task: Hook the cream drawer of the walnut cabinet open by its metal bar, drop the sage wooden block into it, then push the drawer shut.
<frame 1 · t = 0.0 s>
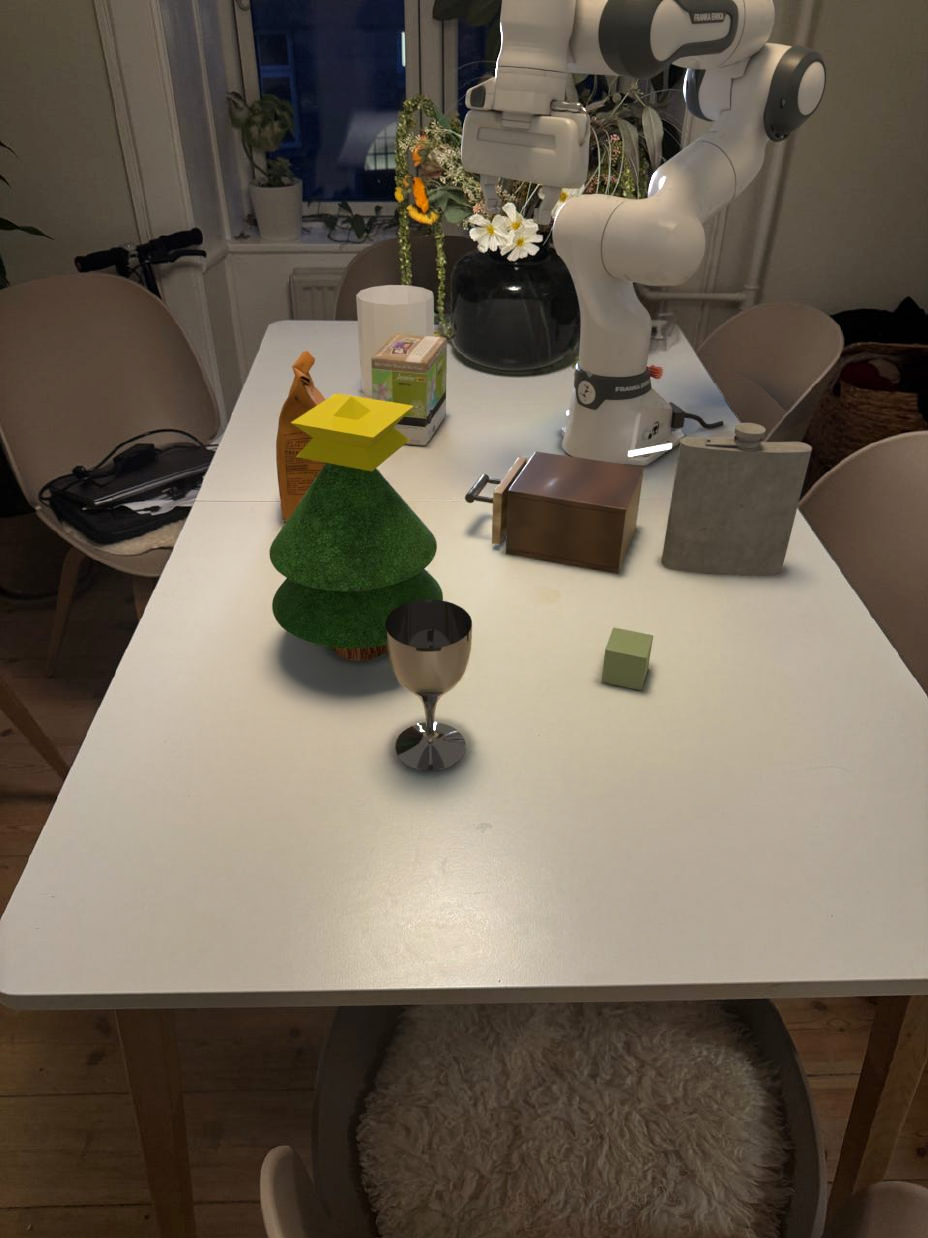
hand: (516, 218, 116), 39 cm above the table, tool pointing down, fingers open, 8 cm apart
block: (625, 674, 98), on the table
coffee package: (315, 507, 132), on the table
cabinet: (572, 540, 124), on the table
hip flask: (721, 568, 118), on the table
decorative tree: (361, 644, 103), on the table
drawer: (538, 504, 122), point 5 cm above the table, slide at 1.0 cm
container: (398, 389, 175), on the table
wine glass: (430, 747, 88), on the table
tea box: (411, 429, 157), on the table
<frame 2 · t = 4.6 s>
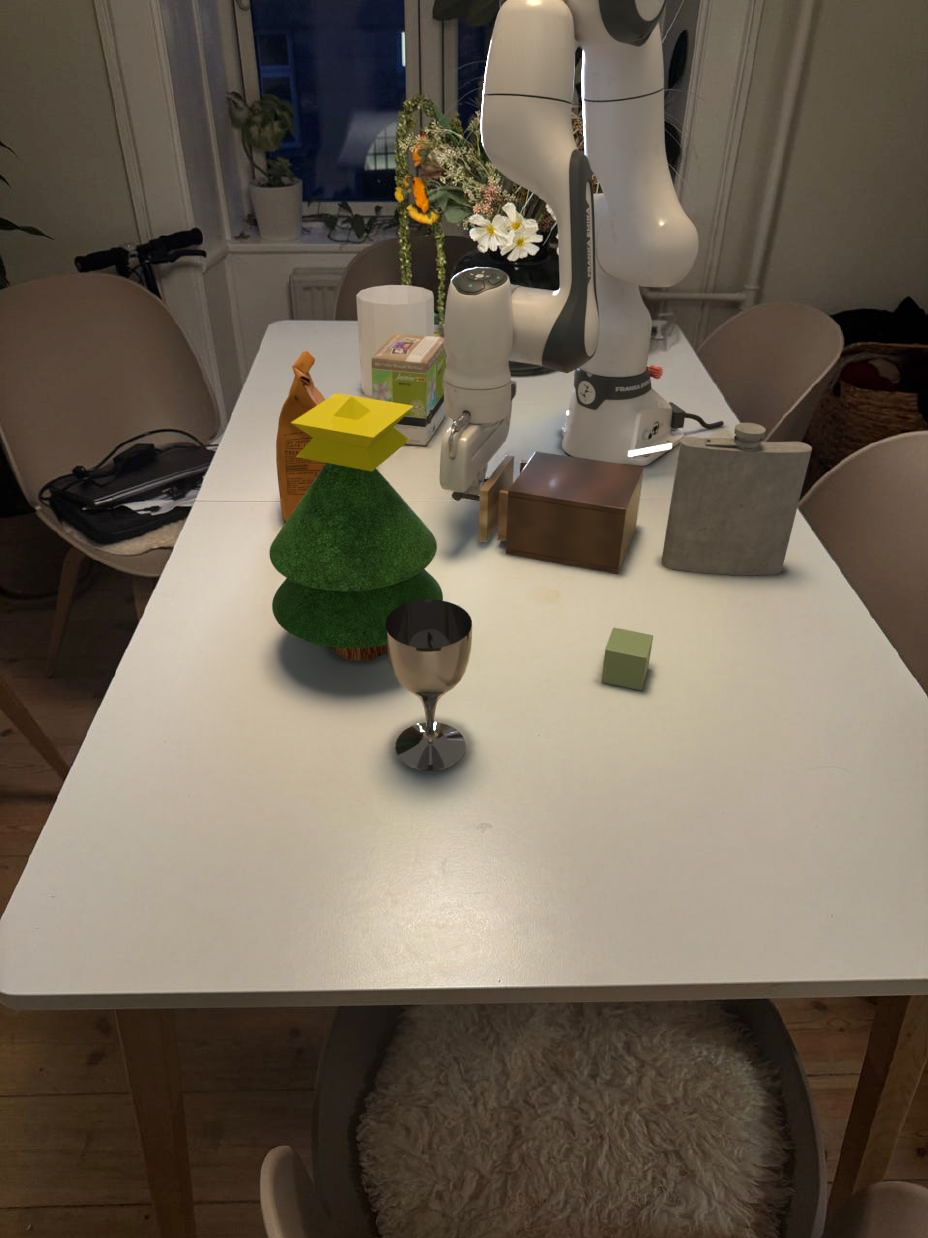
hand: (474, 494, 125), 5 cm above the table, tool pointing down, fingers closed
drawer: (525, 502, 123), point 5 cm above the table, slide at 2.9 cm, touching gripper
everything else where it was.
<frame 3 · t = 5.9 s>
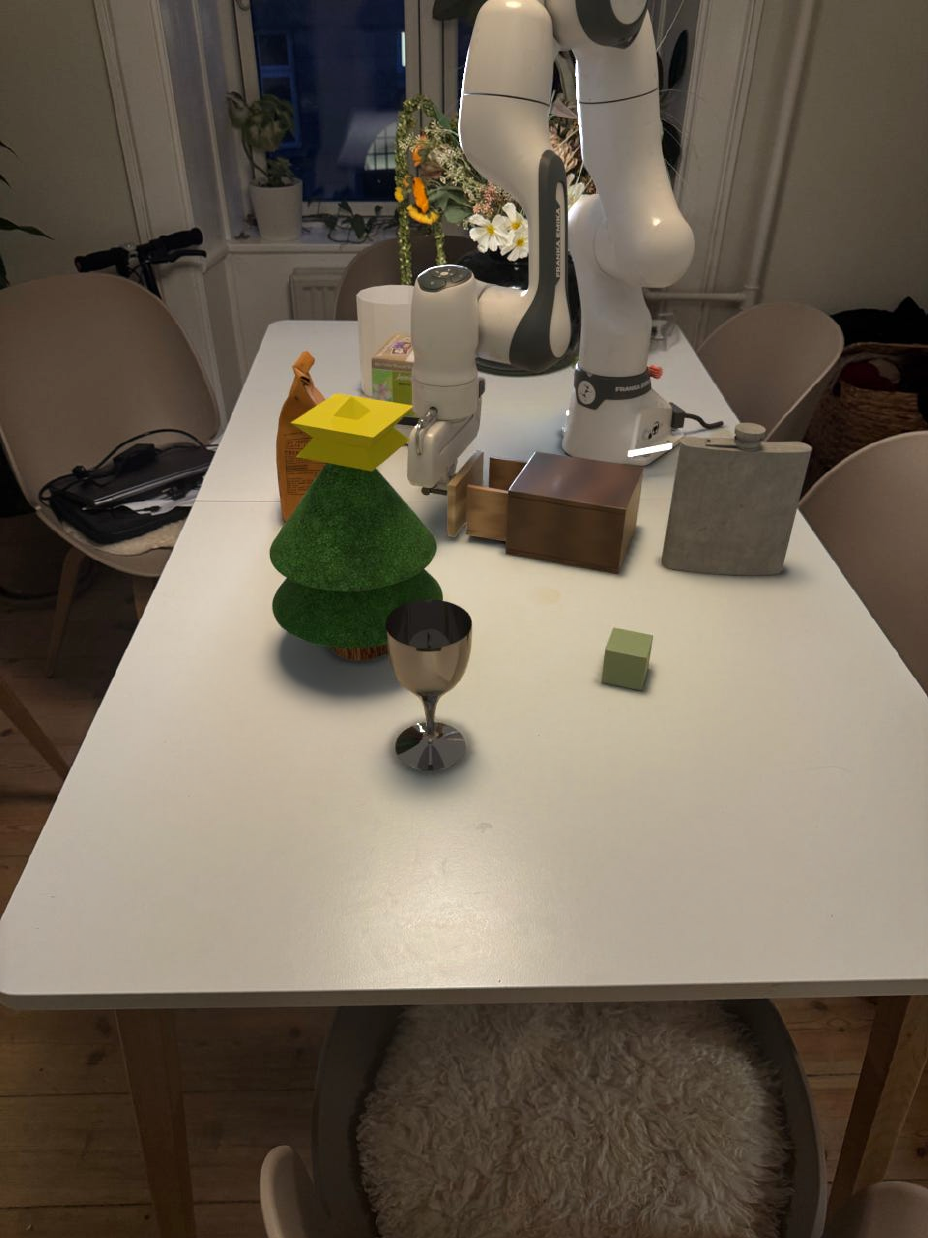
hand: (445, 489, 126), 5 cm above the table, tool pointing down, fingers closed
drawer: (494, 497, 124), point 5 cm above the table, slide at 7.5 cm
everything else where it was.
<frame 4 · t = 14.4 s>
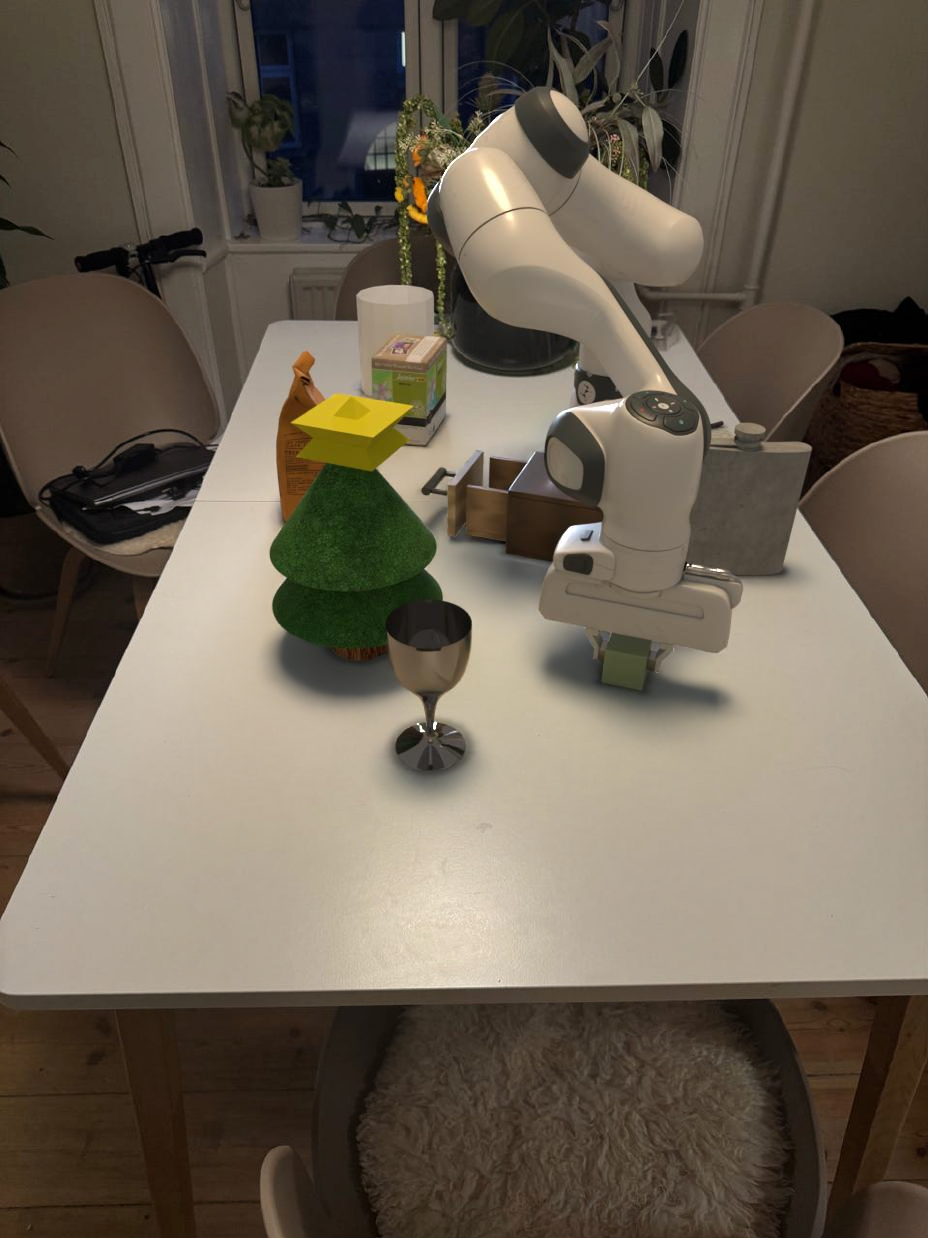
hand: (626, 663, 97), 2 cm above the table, tool pointing down, fingers closed on block, 4 cm apart
block: (625, 674, 98), on the table, touching gripper
everything else where it was.
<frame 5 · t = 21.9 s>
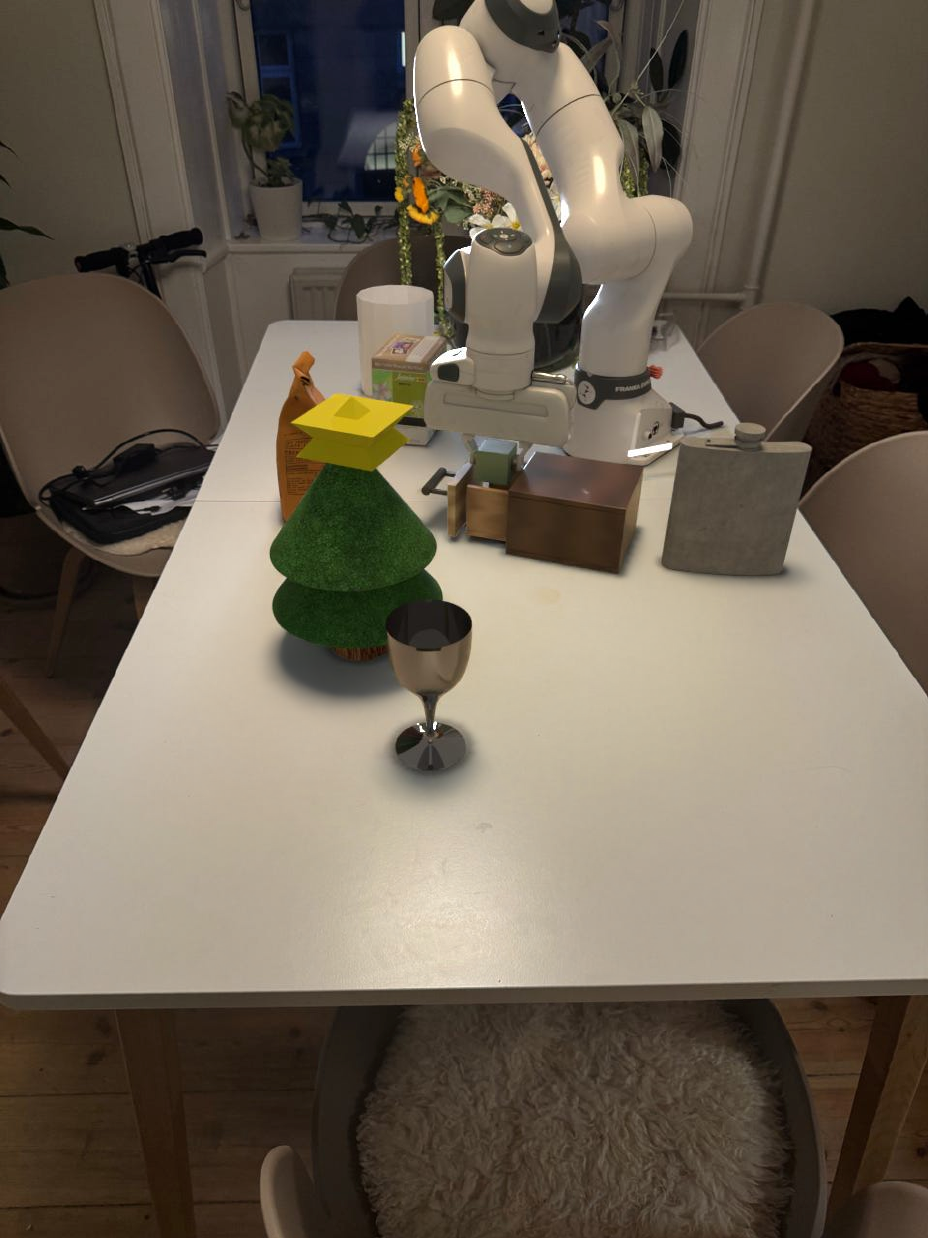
hand: (496, 465, 121), 10 cm above the table, tool pointing down, fingers closed on block, 4 cm apart
block: (496, 476, 122), point 8 cm above the table, touching gripper
everything else where it was.
when the fingers open (13 cm above the table, at t = 38.2 s): block drops 9 cm, resting on drawer.
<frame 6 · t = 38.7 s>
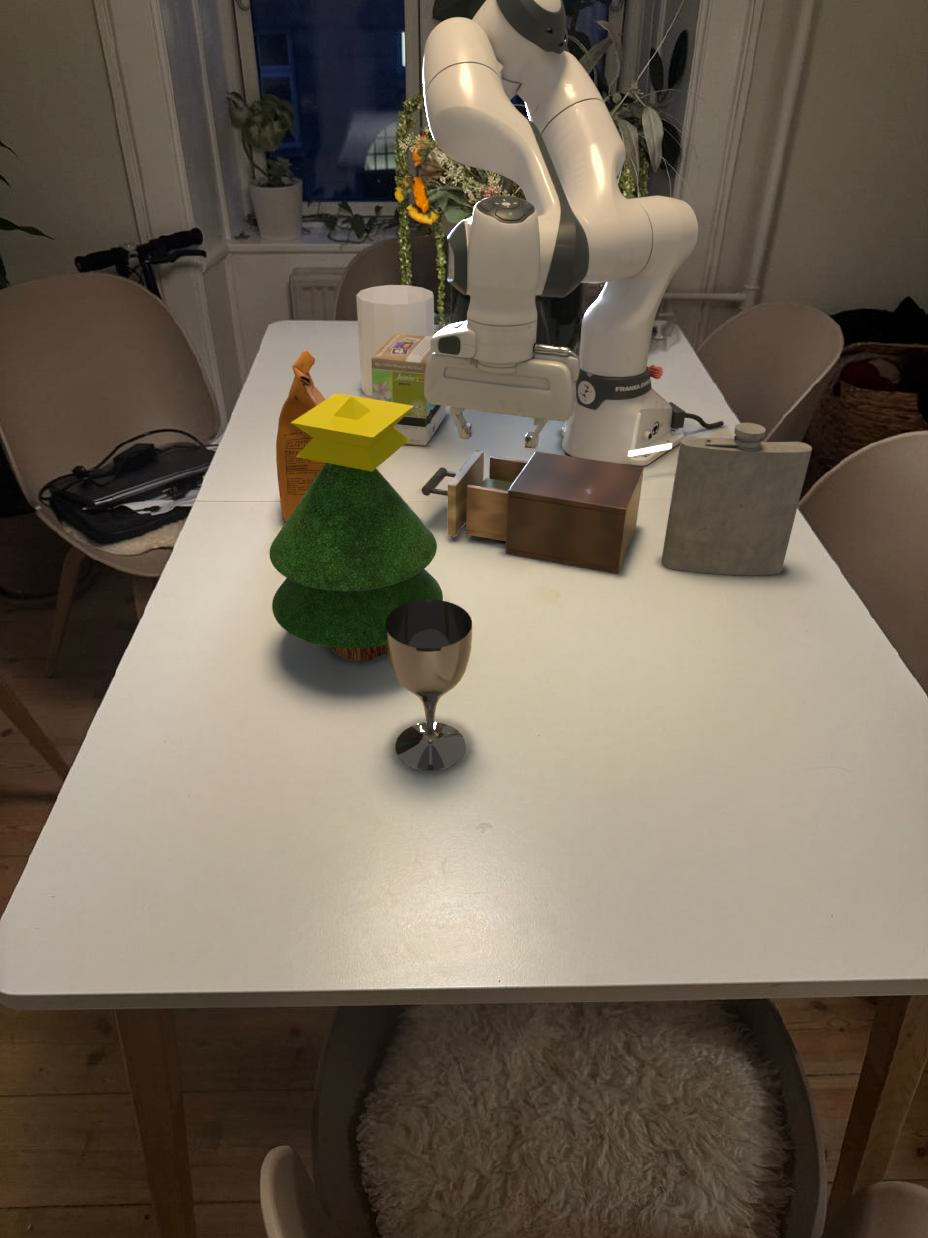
hand: (497, 442, 119), 13 cm above the table, tool pointing down, fingers open, 8 cm apart
block: (494, 515, 126), point 2 cm above the table, touching drawer
drawer: (494, 497, 124), point 5 cm above the table, slide at 7.5 cm, touching block
everything else where it was.
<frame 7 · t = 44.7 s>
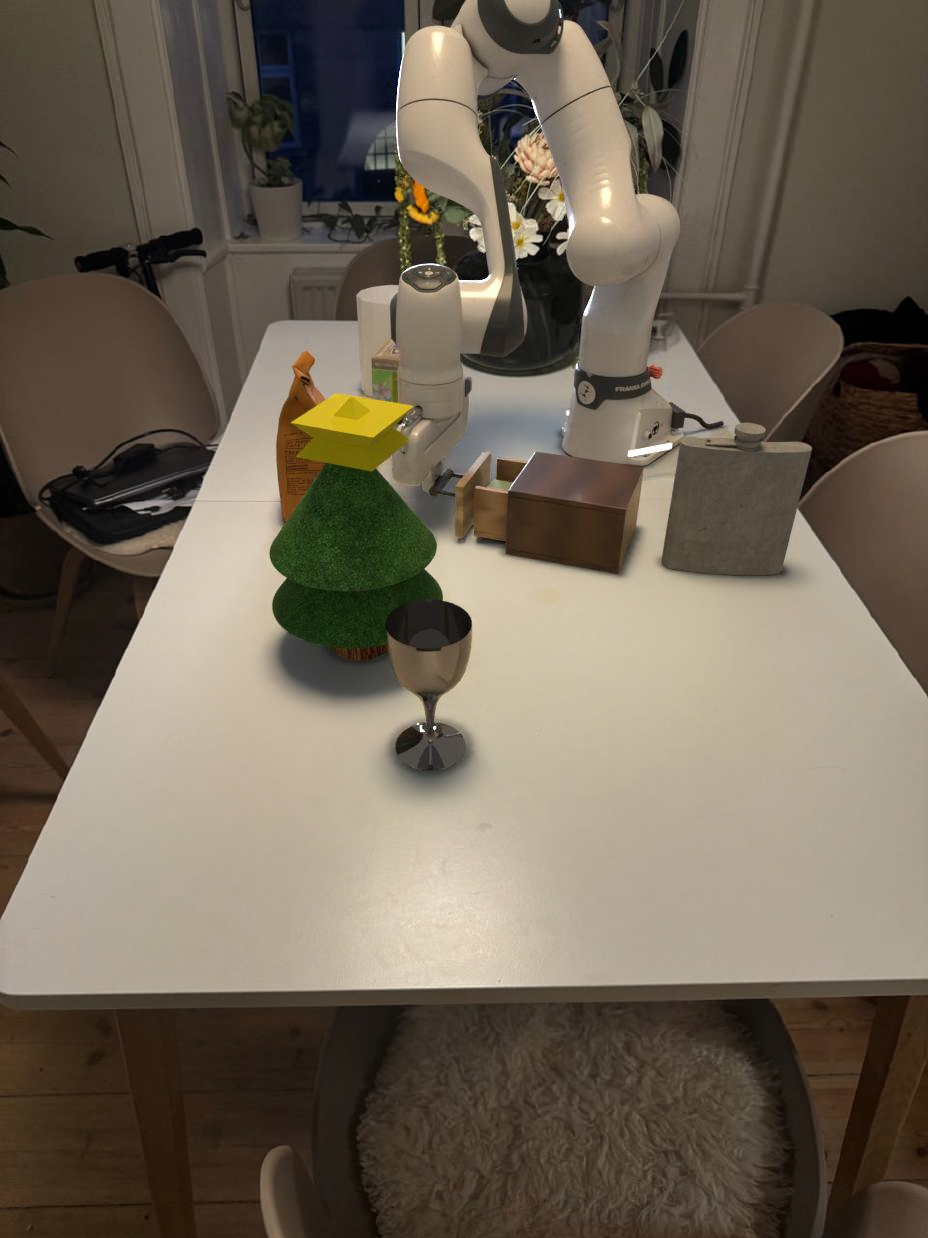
hand: (431, 488, 127), 5 cm above the table, tool pointing down, fingers closed, pressing on drawer
block: (502, 516, 125), point 2 cm above the table, touching drawer
drawer: (501, 498, 124), point 5 cm above the table, slide at 6.4 cm, touching block, gripper
everything else where it was.
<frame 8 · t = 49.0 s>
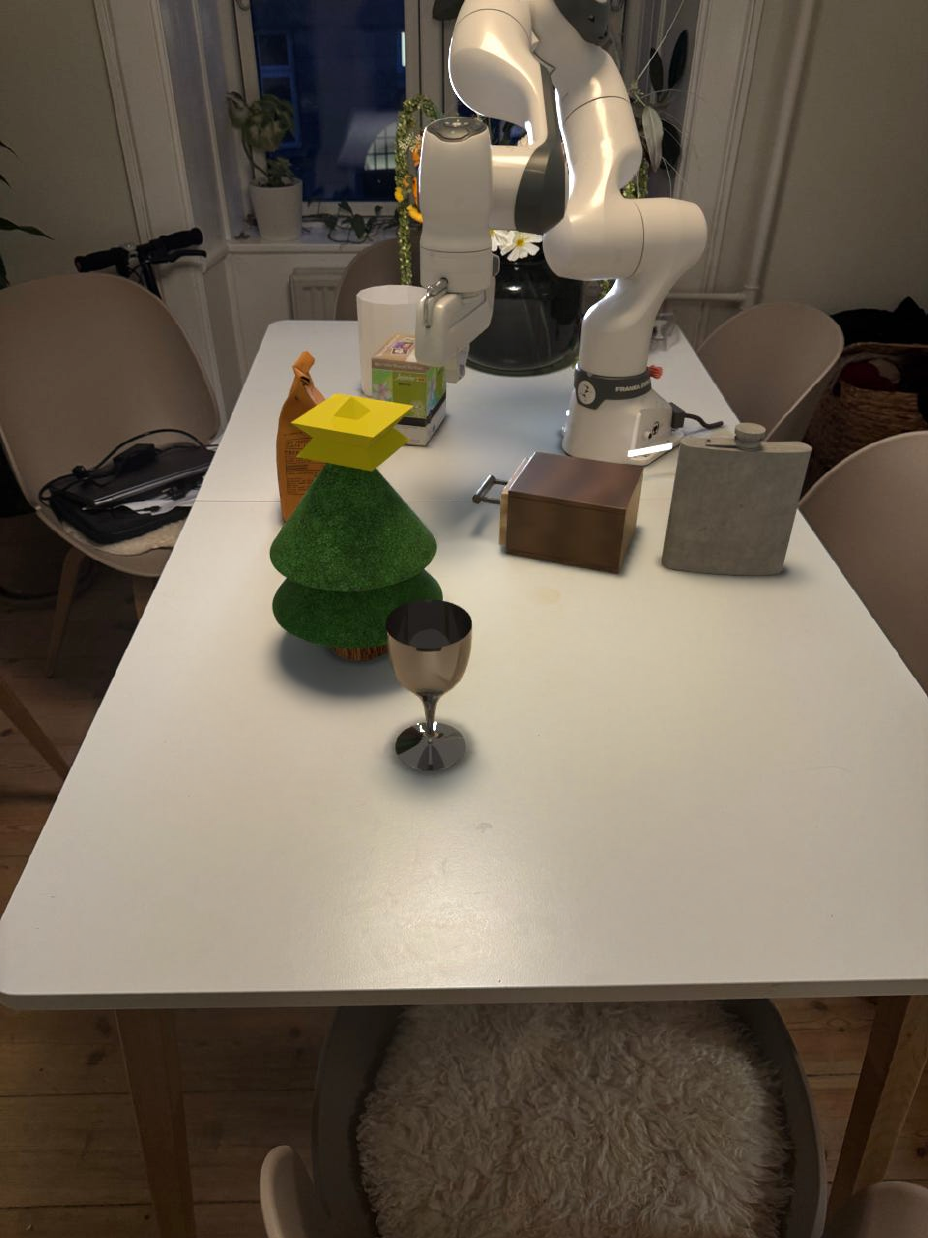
hand: (455, 379, 116), 21 cm above the table, tool pointing down, fingers closed
block: (545, 523, 124), point 2 cm above the table, touching drawer
drawer: (545, 505, 122), point 5 cm above the table, slide at 0.0 cm, touching block, cabinet
everything else where it was.
at the end: drawer pulled out 7.5 cm at the most during the clip, back to where it started at the end; block inside the target area in the cabinet (4.0 cm from its centre), point 2.0 cm above the cabinet's base; drawer slide at 0.0 cm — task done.
